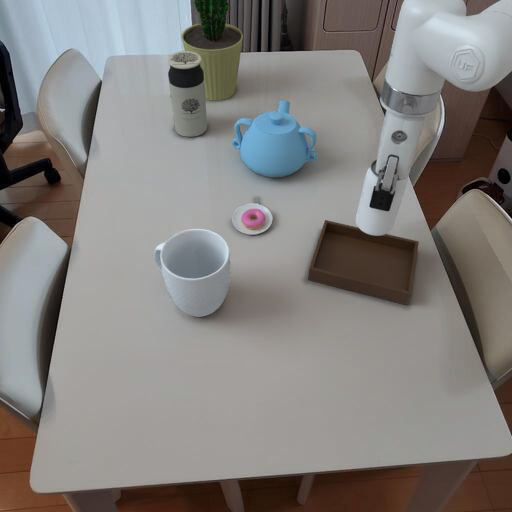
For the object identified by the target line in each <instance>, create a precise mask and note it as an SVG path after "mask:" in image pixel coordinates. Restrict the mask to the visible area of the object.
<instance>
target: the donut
mask: <svg viewBox="0 0 512 512" xmlns="http://www.w3.org/2000/svg"><path fill="white" fill-rule="evenodd" d="M231 223H232V225H233V227H234V228H235V229H236V230H237V231H238V232H240V233H242V234H245V235H248V236H249V235H250V236H254V235H259V234H262V233H264V232H266V231H268V230H269V228H271V226H272V224H273V215H272V212H271V211H270V209H269V208H268V207H266V206H265V205H263V204H260V203H259V200H258V198H256V203H246V204H243V205H241V206H239V207H237V208H236V209H235V210H234V212H233V213H232V216H231Z"/></svg>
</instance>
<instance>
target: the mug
mask: <svg viewBox="0 0 512 512" xmlns="http://www.w3.org/2000/svg"><path fill="white" fill-rule="evenodd" d="M230 256H231V251H230V246H229V244H228V243H227V241H226V240H225V238H224V237H223V236H221V235H220V234H218V233H217V232H215V231H214V230H213V231H212V230H210V229H205V228H189V229H185V230H181V231H178V232H176V233H174V234H173V235H172V236H170V237H168V239H167V240H166V241H164V242H161V243H160V244H158V245H157V246H156V247H155V248H154V251H153V258H154V259H153V260H154V263H155V266H156V268H157V269H158V271H159V272H160V273H161V274H162V275H163V280H164V284H165V287H166V289H167V291H168V292H167V293H168V295H169V296H170V298H171V299H172V302H173V303H174V304H175V305H176V306H177V307H178V309H180V311H182V312H183V313H185V314H187V315H188V316H192V317H197V318H200V317H201V318H202V317H206V316H209V315H211V314H213V313H214V312H216V311H218V309H219V308H220V307H221V306H222V305H223V303H224V301H225V299H226V297H227V294H228V293H229V289H230V284H231V283H230V281H231V257H230Z"/></svg>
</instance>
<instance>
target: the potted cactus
mask: <svg viewBox="0 0 512 512" xmlns="http://www.w3.org/2000/svg"><path fill="white" fill-rule="evenodd" d="M190 2H192V4H194V7H193V10H196V12H195V14H199V18H198V21H197V23H196V24H193V25H191V26H188V27H187V28H186V29H184V30H183V31H182V33H181V35H180V38H181V41H182V45H183V49H184V50H183V51H191V52H195V53H197V54H199V55H200V56H201V59H202V60H201V63H200V66H201V68H202V69H203V72H204V86H205V101H212V102H213V101H214V102H215V101H223V100H227V99H229V98H230V97H232V96H233V95H234V94H235V93H236V90H237V82H238V76H239V68H240V61H241V56H242V55H241V53H242V47H243V38H244V35H243V32H242V31H241V30H240V28H238V27H236V26H234V25H233V24H230V21H229V20H227V19H228V18H229V15H227V13H230V12H231V11H230V10H231V8H232V5H230V4H229V2H228V0H191V1H190Z"/></svg>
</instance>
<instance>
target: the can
mask: <svg viewBox="0 0 512 512" xmlns="http://www.w3.org/2000/svg"><path fill="white" fill-rule="evenodd" d="M376 163H377V158H376V159H375V160H373V161H372V162H371V164H370V167H368V169H367V171H366V174H365V177H364V180H363V185H362V189H361V193H360V198H359V202H358V207H357V210H356V215H355V224H356V227H358V228H359V229H360V230H361V231H363V232H364V233H366V234H368V235H372V236H381V235H385V234H389V233H390V232H391V231H392V230H393V229H394V225H395V223H396V219H397V216H398V213H399V210H400V208H401V203H402V200H403V198H404V194H405V191H406V188H407V184H408V180H409V177H408V178H407V179H406V180H403V179H399V176H398V179H397V182H396V186H395V194H394V198H393V201H392V204H391V208H390V211H383V210H378V209H374V208H370V207H369V205H370V201H371V197H372V193H373V189H374V186H376V184H377V180H378V176H379V174H377V173H376V171H375V170H376ZM386 168H387V167H384V168H383V170H386ZM396 171H397V169H395V172H396ZM393 179H394V178H393ZM383 180H384V176H382V179H381V182H382V183H383ZM392 182H393V180H392Z"/></svg>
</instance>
